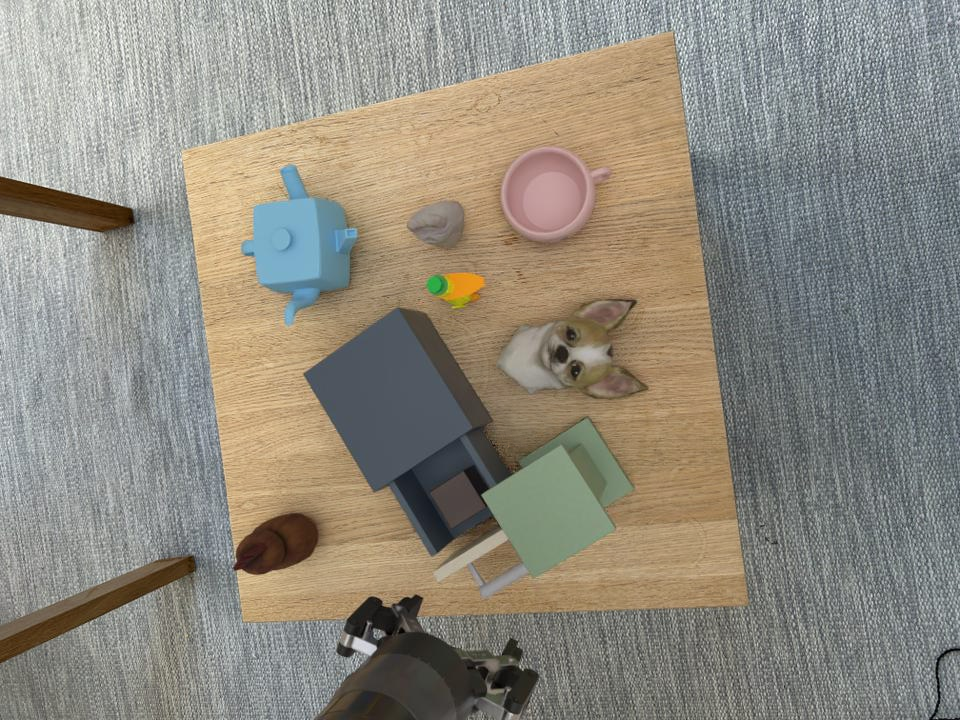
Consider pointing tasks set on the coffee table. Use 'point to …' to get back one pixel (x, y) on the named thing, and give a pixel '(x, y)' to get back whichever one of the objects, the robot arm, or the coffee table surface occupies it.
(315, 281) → the teapot
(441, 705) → the robot arm
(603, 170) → the mug
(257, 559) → the wooden figurine
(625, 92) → the coffee table surface
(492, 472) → the drawer
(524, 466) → the stand
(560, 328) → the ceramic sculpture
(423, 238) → the fossil
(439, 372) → the cabinet
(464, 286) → the toy figure
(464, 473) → the block
